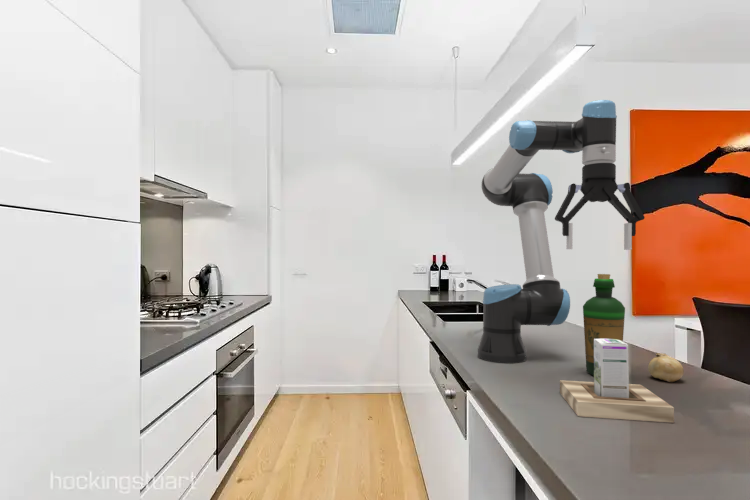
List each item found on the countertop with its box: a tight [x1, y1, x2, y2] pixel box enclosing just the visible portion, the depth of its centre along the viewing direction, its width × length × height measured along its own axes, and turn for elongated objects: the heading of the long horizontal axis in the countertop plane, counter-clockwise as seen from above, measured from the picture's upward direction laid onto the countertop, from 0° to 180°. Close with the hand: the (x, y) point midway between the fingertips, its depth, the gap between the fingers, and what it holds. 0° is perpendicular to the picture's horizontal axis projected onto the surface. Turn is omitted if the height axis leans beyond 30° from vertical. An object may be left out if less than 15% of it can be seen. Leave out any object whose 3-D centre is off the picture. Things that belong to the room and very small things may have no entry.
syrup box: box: [593, 338, 630, 398], centre depth 99 cm, size 6×6×14 cm
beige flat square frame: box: [559, 379, 675, 424], centre depth 99 cm, size 16×18×3 cm
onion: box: [647, 352, 685, 383], centre depth 121 cm, size 8×8×7 cm
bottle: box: [582, 273, 626, 376], centre depth 126 cm, size 11×11×28 cm
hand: (598, 249), depth 112 cm, fingers open, 13 cm apart
